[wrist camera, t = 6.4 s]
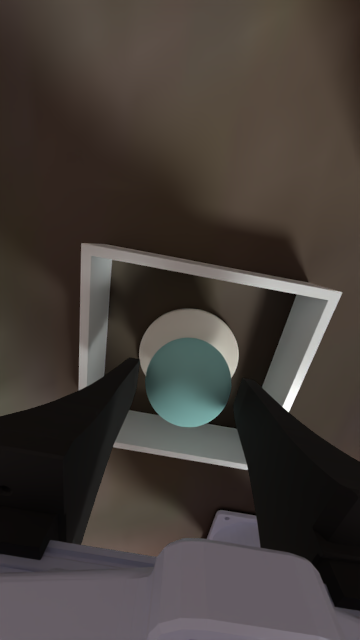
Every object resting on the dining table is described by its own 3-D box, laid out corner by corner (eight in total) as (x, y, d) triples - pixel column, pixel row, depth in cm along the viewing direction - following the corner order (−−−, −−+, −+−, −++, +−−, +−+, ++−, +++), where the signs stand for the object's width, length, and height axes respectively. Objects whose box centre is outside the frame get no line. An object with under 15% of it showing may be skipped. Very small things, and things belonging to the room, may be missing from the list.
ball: (230, 333, 14) (257, 377, 9) (211, 392, 16) (225, 455, 11) (157, 318, 14) (147, 357, 9) (145, 381, 15) (131, 441, 11)
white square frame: (309, 282, 13) (342, 292, 10) (250, 435, 17) (261, 472, 15) (104, 244, 13) (81, 243, 10) (95, 409, 17) (77, 441, 14)
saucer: (249, 318, 14) (251, 320, 14) (223, 401, 16) (224, 405, 16) (146, 299, 14) (145, 301, 13) (135, 385, 16) (134, 389, 16)
